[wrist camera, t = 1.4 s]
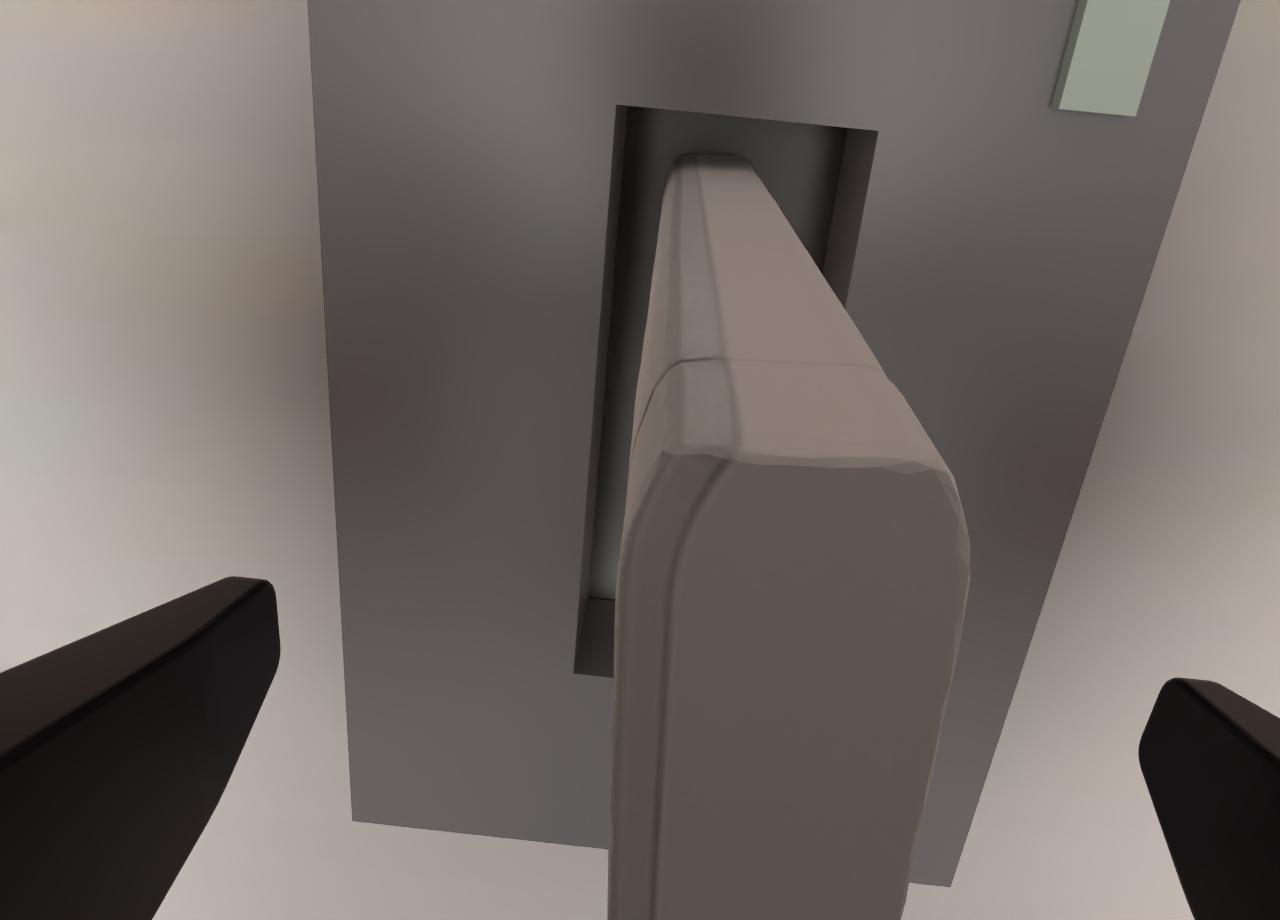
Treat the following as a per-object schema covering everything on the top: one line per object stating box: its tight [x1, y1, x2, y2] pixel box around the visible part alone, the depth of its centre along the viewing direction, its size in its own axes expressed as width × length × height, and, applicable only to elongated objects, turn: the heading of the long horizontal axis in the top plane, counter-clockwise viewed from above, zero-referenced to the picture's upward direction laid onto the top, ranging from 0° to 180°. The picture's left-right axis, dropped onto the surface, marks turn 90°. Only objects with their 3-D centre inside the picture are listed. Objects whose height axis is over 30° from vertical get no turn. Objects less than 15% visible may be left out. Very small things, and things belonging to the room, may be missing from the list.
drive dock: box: [308, 0, 1241, 887], centre depth 15 cm, size 18×12×3 cm, turn 175°
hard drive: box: [608, 154, 970, 920], centre depth 11 cm, size 2×8×12 cm, turn 179°
